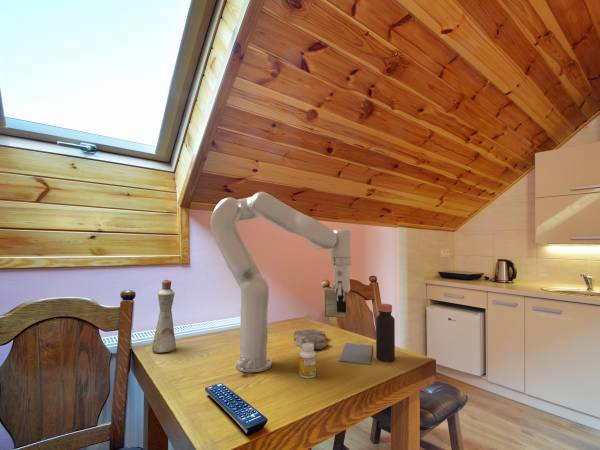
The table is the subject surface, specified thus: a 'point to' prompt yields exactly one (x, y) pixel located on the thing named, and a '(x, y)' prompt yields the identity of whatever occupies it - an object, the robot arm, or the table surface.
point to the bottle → (165, 321)
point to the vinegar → (385, 334)
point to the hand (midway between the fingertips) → (342, 310)
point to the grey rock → (310, 338)
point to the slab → (333, 304)
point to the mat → (356, 354)
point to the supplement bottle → (307, 361)
